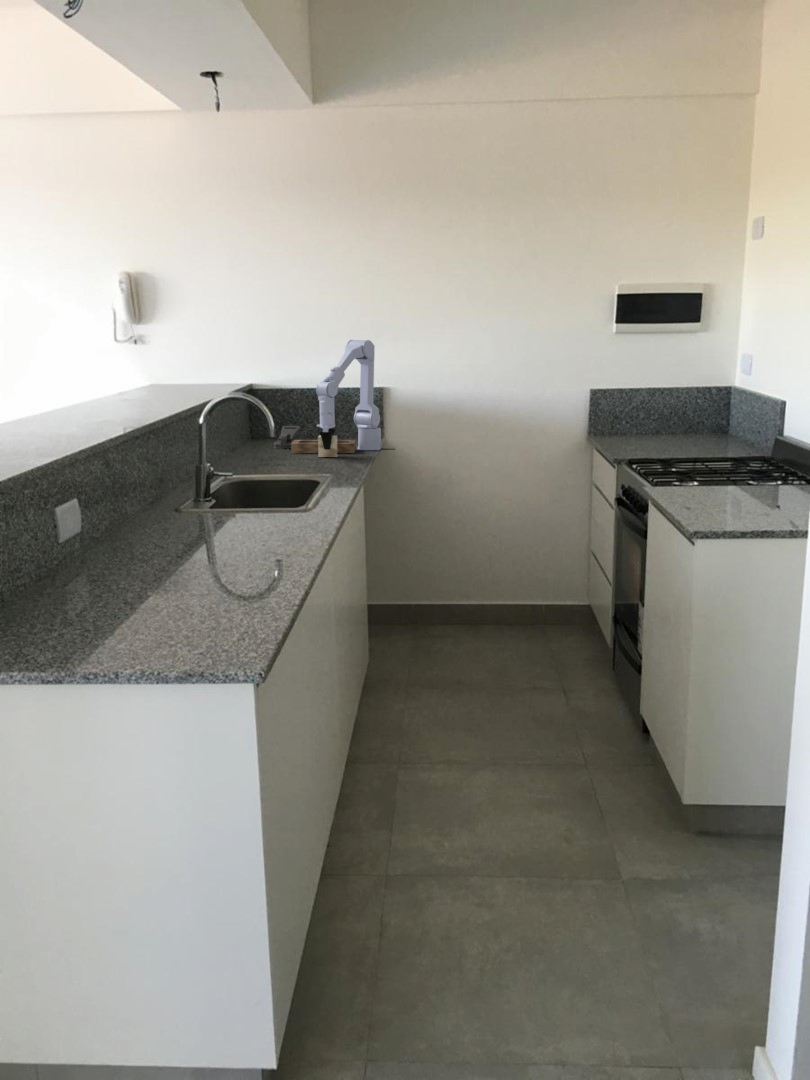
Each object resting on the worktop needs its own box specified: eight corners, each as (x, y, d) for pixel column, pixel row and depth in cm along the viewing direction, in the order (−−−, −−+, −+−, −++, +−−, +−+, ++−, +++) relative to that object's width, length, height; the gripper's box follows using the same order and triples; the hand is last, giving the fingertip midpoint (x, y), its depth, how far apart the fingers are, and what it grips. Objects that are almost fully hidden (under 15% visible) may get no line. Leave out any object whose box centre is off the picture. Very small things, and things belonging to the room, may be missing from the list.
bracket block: (337, 455, 356) (337, 435, 354) (336, 457, 352) (336, 436, 350) (319, 455, 356) (319, 435, 354) (318, 457, 352) (317, 436, 350)
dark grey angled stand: (302, 425, 396) (293, 433, 372) (302, 440, 398) (294, 449, 374) (281, 425, 396) (272, 433, 372) (282, 440, 398) (272, 449, 374)
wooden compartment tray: (355, 449, 371) (355, 440, 370) (354, 453, 361) (353, 443, 360) (294, 449, 371) (294, 439, 370) (291, 453, 362) (290, 443, 361)
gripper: (318, 411, 357) (319, 445, 360) (314, 415, 343) (315, 451, 346) (336, 411, 357) (337, 445, 360) (333, 415, 342) (333, 451, 346)
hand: (327, 448), depth 353 cm, fingers closed on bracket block, 4 cm apart
